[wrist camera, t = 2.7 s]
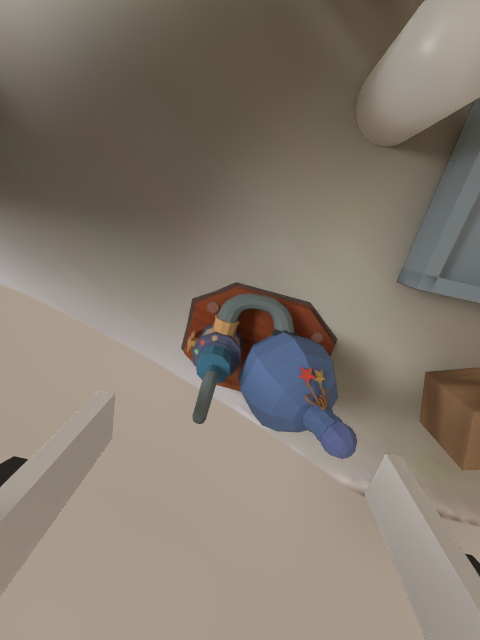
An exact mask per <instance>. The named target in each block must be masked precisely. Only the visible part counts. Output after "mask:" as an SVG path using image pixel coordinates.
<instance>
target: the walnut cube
mask: <svg viewBox="0 0 480 640" xmlns="http://www.w3.org/2000/svg"><path fill="white" fill-rule="evenodd" d="M420 422H421V423H422V424H423V426H424V427H425V428H426V429H427V430H428V431H429V433H430V434H431V435H432V436H433V437H434V438H435V439H436V441H437V442H438V443H439V444H440V445H441V446H442V447H443V449H444V450H445V451H446V452H447V453H448V454H449V455H450V457H451V458H452V459H453V460H454V461H455V462H456V464H457V465H458V466H459V467H460V468H461V469H462V470H478V469H480V368H469V369H457V370H445V371H433V372H425V380H424V389H423V398H422V406H421V415H420Z"/></svg>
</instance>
